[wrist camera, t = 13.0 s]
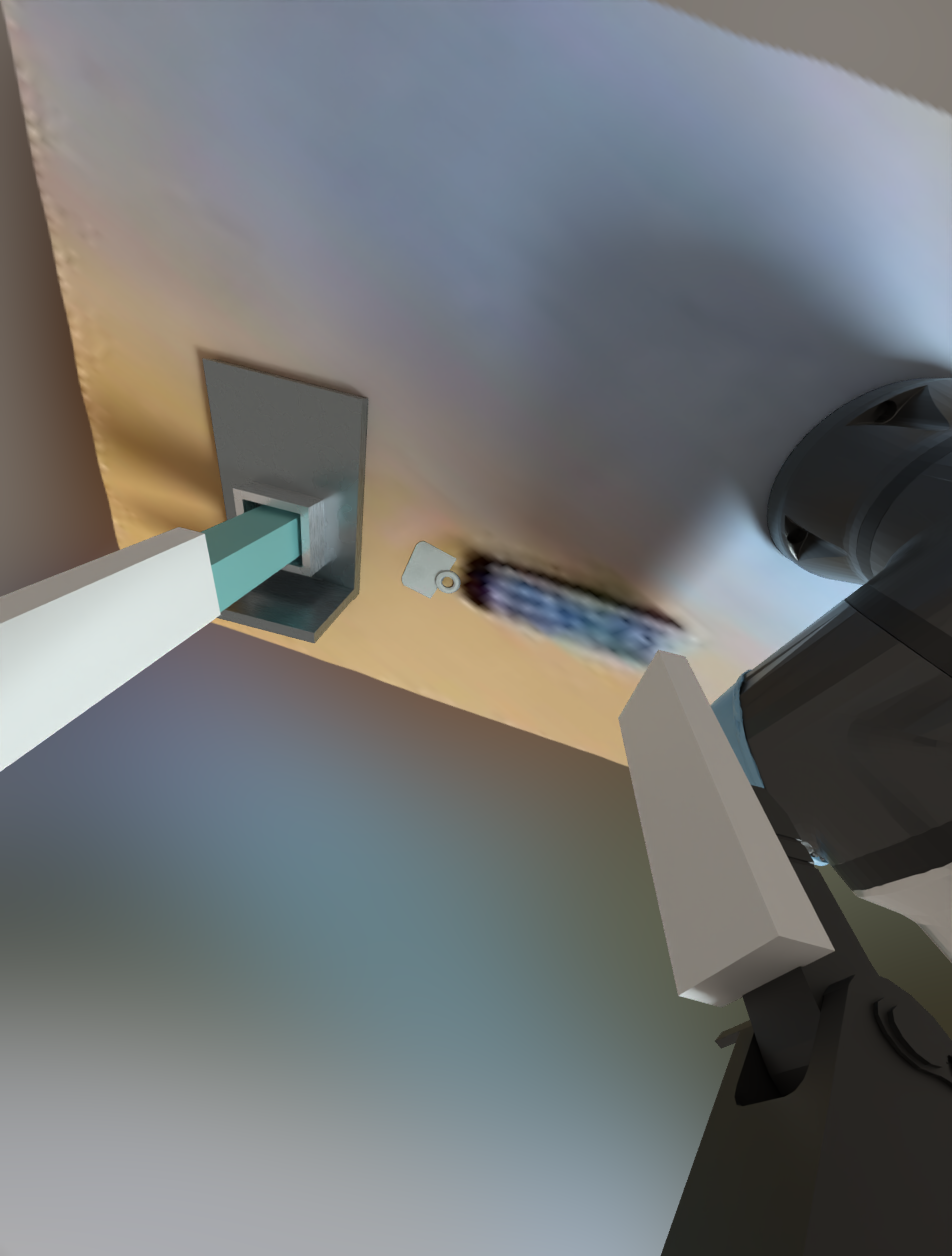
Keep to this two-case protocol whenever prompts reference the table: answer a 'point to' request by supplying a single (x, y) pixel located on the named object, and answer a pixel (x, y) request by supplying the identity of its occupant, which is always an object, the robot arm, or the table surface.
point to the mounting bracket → (429, 570)
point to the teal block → (251, 550)
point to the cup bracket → (293, 489)
